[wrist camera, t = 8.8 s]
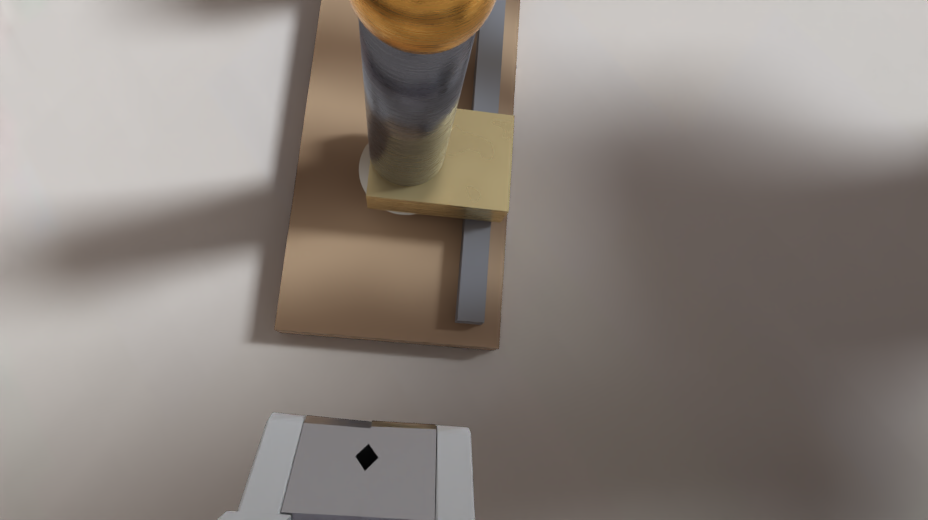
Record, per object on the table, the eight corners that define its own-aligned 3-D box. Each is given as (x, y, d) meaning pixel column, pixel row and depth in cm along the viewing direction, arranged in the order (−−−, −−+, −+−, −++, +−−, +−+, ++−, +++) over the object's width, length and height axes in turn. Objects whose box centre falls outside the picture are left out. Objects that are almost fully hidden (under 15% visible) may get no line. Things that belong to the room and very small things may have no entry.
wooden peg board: (493, 350, 28) (582, 322, 15) (280, 332, 27) (181, 286, 14) (521, -106, 34) (605, -411, 21) (345, -135, 33) (317, -477, 20)
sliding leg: (497, 227, 27) (633, 32, 12) (359, 212, 27) (321, -14, 12) (503, 139, 28) (636, -143, 13) (369, 123, 28) (347, -195, 12)
